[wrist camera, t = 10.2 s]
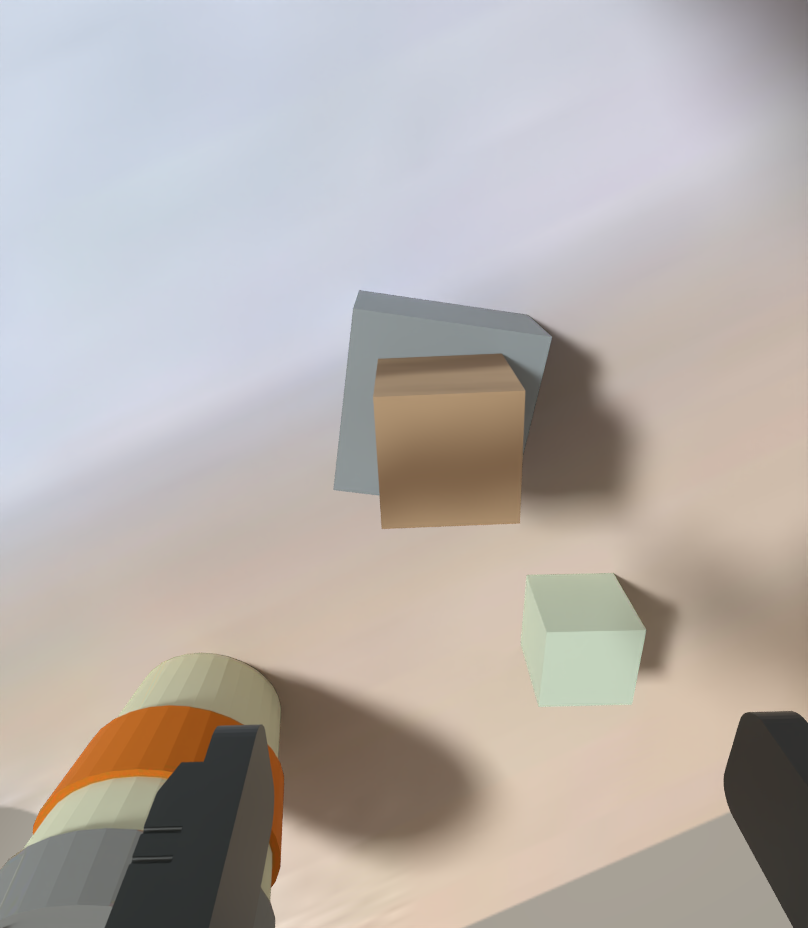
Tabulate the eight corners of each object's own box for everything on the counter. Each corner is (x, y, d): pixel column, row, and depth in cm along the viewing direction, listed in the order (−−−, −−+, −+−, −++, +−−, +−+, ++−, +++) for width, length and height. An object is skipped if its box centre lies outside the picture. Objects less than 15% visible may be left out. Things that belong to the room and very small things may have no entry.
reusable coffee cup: (275, 795, 42) (218, 1089, 28) (91, 748, 40) (-67, 1041, 26) (337, 664, 37) (304, 941, 23) (132, 603, 35) (-35, 868, 21)
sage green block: (526, 574, 35) (546, 632, 30) (612, 572, 35) (646, 630, 30) (520, 642, 37) (538, 706, 32) (602, 640, 37) (632, 704, 32)
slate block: (359, 289, 28) (353, 308, 24) (526, 314, 29) (552, 336, 24) (342, 446, 31) (333, 489, 27) (492, 465, 32) (509, 511, 27)
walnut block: (378, 358, 24) (372, 397, 20) (501, 353, 24) (525, 390, 20) (384, 470, 26) (381, 529, 22) (499, 466, 26) (519, 523, 22)
